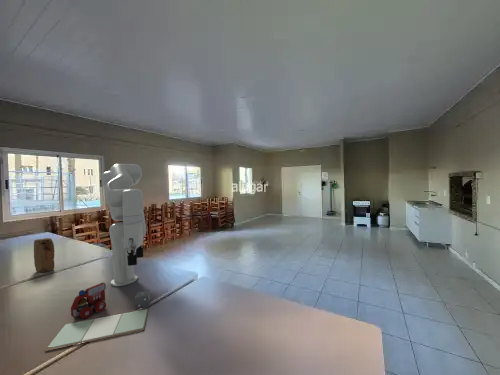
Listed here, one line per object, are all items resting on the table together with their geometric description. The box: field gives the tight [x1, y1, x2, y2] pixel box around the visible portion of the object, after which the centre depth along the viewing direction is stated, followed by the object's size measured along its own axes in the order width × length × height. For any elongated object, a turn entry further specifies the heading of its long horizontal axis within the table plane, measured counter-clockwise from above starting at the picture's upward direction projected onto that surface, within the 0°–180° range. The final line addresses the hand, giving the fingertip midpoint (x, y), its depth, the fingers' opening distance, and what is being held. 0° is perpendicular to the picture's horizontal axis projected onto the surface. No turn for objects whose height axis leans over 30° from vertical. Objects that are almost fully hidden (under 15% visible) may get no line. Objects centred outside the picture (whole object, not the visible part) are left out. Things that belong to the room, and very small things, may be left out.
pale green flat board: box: [47, 308, 149, 347], centre depth 83 cm, size 14×28×1 cm, turn 108°
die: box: [134, 289, 151, 310], centre depth 97 cm, size 5×5×5 cm
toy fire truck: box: [70, 282, 107, 320], centre depth 93 cm, size 7×12×10 cm, turn 149°
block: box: [33, 237, 55, 273], centre depth 145 cm, size 11×8×20 cm
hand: (136, 261), depth 95 cm, fingers open, 9 cm apart
